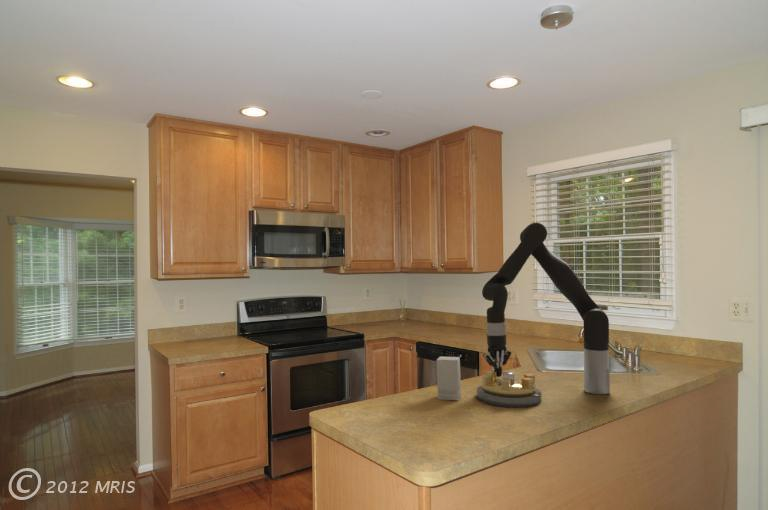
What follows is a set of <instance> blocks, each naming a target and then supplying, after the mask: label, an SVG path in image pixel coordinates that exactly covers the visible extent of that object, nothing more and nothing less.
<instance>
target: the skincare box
mask: <svg viewBox="0 0 768 510" xmlns="http://www.w3.org/2000/svg"><path fill="white" fill-rule="evenodd" d="M435 362H436V382H437V383H436V384H437V386H436V387H437V400H443V401H444V400H446V401H459V400H460V399H461V397H462V384H461V382H462V381H461V360H460V356H441V355H440V356H439V357H438V358H437V359H436V361H435Z"/></svg>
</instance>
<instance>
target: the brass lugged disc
mask: <svg viewBox="0 0 768 510" xmlns="http://www.w3.org/2000/svg"><path fill="white" fill-rule="evenodd" d="M481 378H482V379H481V386H482V390H483V391H484V392H486V393H489V394H492V395H497V396H503V397H525V396H530V395H533V394H535V393H536V389H537V387H536V386H537V384H536V376H535V374H534V373H523V378H519V377H516V370H514V369H513V370H512V369H507V370H506V371H502V376H500V377H497V376H496V372H494V370H488V371H485V375H482V377H481Z"/></svg>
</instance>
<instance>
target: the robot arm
mask: <svg viewBox="0 0 768 510" xmlns="http://www.w3.org/2000/svg"><path fill="white" fill-rule="evenodd" d="M547 236H548V229H547V227H546V226H545V225H544V224H543V223H541V222H532V223H530V224H528V225H527V226H526V227H525V228H523V230H522V231H521V232H520V235H519V241H520V243H519V244H518V246H517V247H516V248H515V250H514V251H513V252H511V254H510V255H509V257H508V258H507V259H506V260H505V262H504V263H503V264H502V266H501V267H500V269H499V270H498V272H497V273H496V274H494V275H493V276H492V277H491V278H490V279H488V280H487V282H486V283H485V284H484V285H483V288H482V289H481V290H482V291H481V293H482V298H483V299H484V300H487V301H489V302H490V301H491V302H492V306H490V307H488V308H487V309H486V339H487V340H486V342H487V343H486V344H487V347H488V348H487V352H486V353H485V354H483V355H482V357H483V359H484V360H485V361H486V362H487V364H488V365H489V366H491V367H493V371H494V372H496V378H497V377H502V376H503V366H506V365H507V363H508V360H509V359H510V357H511V355H512V351H509V350H508V348H507V346H506V345H507V328H506V316H505V315H506V314H505V311H506V308H507V301H508V297H509V293H508V290H507V287H506V286H508V285H509V286H510V285H511V284H512V283H513V282H514V281H515V279H516V278H517V276H518V275H519V273H520V271H522V269H523V268H524V266H525V264H526V262H527V260H528V259H530V258H529V257H530V256H532V257H533V258H534V259H535V261H537V263H538V265H540V267H541V268H542V269H543V270H544V272H545V273H546V274H547V276H548V277H549V278H550V280H551V282H552V283H553V284H554V286H555V287H556V289H558V291H559V292H560V293H561V294H562V295H563V296H564V297H565V298H566V299H567V300H568V301H569V302H570V303H571V304H572V305H573V307H574V308H575V309H576V311H577V312H578V313H577V314H579V316H580V317H581V319H582V322H583V391H584V392H586V393H588V394H593V395H611V388H610V387H611V382H610V381H611V380H610V378H611V377H610V371H611V370H610V368H609V367H610V360H609V353H610V352H609V350H610V349H609V347H610V346H609V343H610V320H609V317H608V315H607V314H606V312H605V311H604V310H603V309H601V307H600V306H599V305H597V303H596V302H595V301H594V300H593V299H592V298H591V296H590V295H589V294H588V292H587V290H586V288H585V287H584V285H583V283H582V281H581V280H580V278H579V277H578V275H577V274H576V273H575V272H574V270H573V269H572V268H571V266H570V265H569V264H568V263H567V262H565V261H564V260H563V259H561V258H559V257H558V256H557V255H555V254H554V253H552V252H551V251H550V250H549V249H548V247H547V246H546V244H545V243H544V242H545V241H546V239H547Z"/></svg>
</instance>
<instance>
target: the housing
mask: <svg viewBox="0 0 768 510" xmlns="http://www.w3.org/2000/svg"><path fill="white" fill-rule="evenodd" d="M476 399H477V400H478V401H479V402H481V403H482V404H486V405H489V406H492V407H493V406H495V407H500V408H508V409H524V408H530V407H531V408H532V407H535V406H538V405H540V404H541V403H542V391H541V390H540V389H539V388H536V393H535V394H533V395H530V396H525V397H503V396H497V395H492V394H489V393H486V392H484V391H483V390H482V385H480V386H478V387H476Z"/></svg>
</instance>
